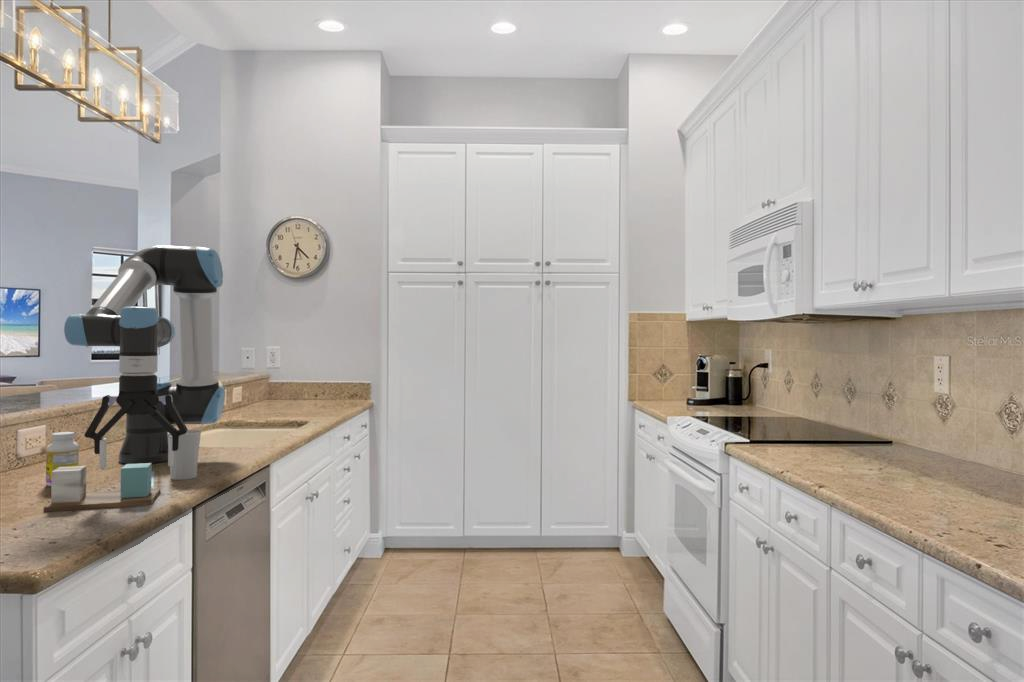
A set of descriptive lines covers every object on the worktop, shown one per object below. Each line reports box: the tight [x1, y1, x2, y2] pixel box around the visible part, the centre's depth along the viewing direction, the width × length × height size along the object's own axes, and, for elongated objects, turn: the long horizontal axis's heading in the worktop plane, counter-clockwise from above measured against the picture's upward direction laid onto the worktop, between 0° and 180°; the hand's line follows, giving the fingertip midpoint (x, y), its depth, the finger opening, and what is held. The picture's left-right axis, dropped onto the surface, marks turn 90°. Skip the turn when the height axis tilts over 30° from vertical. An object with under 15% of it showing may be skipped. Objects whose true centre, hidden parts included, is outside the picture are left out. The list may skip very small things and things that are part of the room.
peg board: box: [43, 465, 161, 513], centre depth 142 cm, size 12×20×8 cm, turn 111°
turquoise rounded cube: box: [120, 463, 153, 498], centre depth 144 cm, size 5×5×7 cm
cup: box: [167, 429, 202, 481], centre depth 168 cm, size 8×8×12 cm
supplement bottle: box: [45, 431, 80, 487], centre depth 157 cm, size 7×7×13 cm
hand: (137, 466), depth 144 cm, fingers open, 13 cm apart
